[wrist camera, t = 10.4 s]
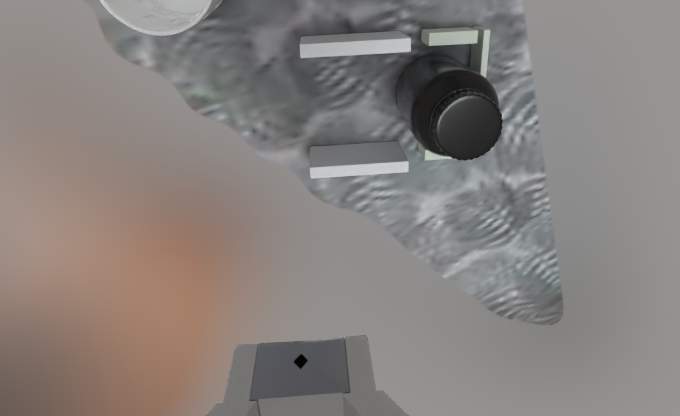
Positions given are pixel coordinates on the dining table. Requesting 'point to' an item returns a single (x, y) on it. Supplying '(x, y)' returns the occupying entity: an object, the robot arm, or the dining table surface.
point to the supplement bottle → (449, 107)
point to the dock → (477, 58)
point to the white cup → (160, 14)
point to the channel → (364, 154)
